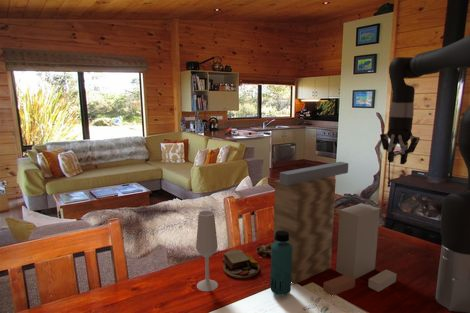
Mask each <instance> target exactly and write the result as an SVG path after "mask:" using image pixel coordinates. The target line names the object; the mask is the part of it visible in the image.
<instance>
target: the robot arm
mask: <svg viewBox="0 0 470 313" xmlns="http://www.w3.org/2000/svg"><path fill="white" fill-rule="evenodd" d="M449 68H467V69H468V68H470V34H469V35H467V36H465V37H463V38H461V39H459V40H457V41H454V42H453V43H449V44H448V45H446V46H443V47H441V48H436V49H432V50H429V51H424V52H421V53H418V54H416V55H415V56H412V57H411V56H410V57H409V56H408V57H407V56H405V57H404V56H403V57H402V56H397V57H394V58H393V59H392V60H391V62H390V63H389V66H388V75H389V79H390V85H391V90H392V94H391V103H390V108H389V109H390V110H389V116H388V117H389V118H388V131H387V132H386V133H381V134H379V137H380V141H381V145H382V148H383V150H384V151H386V152H387V161H388V163H394V160H395V149H396V147H397V146H398V145H399V148H400V149H401V154H400V160H399V164H400V165H406V163H407V161H408V156H409V155H408V154H412V153H414V152H415V150H416V148H417V146H418V144H419V141H420V140H421V138H420V136H414V135H413V133H412V129H413V120H414V115H415V114H414V111H415V109H414V101H415V94H416V92H415V91H416V90H415V87H414V86H413V85H410V84H406V82H405V79H417V78H420V77H422V76H427V75H433V74H437V73H440V72H443V71H445V70H446V69H449ZM409 141H410V143H408V142H409ZM457 146H458V150H459V153H460V155H461V158H462V159H463V162H464V164H465V167H466V168H467V169H466V170H467V184H466V189H465V191H462V192H454V193H453V192H452V193H449V194H447V195H446V196H445V198H444V199H443V202H442V204H441V211H440V212H441V213H440V230H439V231H440V236H441V238H442V239H441V246H440V248H441V249H440V256H439V257H440V258H439V263H438V272H437V280H436V282H437V283H436V290H435V297H434V298H435V300H436V302H437V303H438V304H440V305H441V306H443V307H444V308H446V309H447V310H448V311H450V312H456V313H457V312H458V313H470V104H469V105H468V107H467V108H466V109H465V111H464V113H463V115H462V116H461V119H460V122H459V130H458V136H457Z"/></svg>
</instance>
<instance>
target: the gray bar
mask: <svg viewBox="0 0 470 313" xmlns="http://www.w3.org/2000/svg"><path fill="white" fill-rule="evenodd" d="M348 173H349V163H348V162H343V161H337V162H332V163H331V162H330V163H325V164H321V165H315V166H314V165H313V166H310V167H309V166H308V167H303V168H302V167H301V168H299V169H297V168H296V169H292V170H287V171H286V170H285V171H281V172H279V180H280V184H283V185H287V186H288V185H293V184H298V183H302V182H307V181H312V180H317V179H321V178H326V177H330V178H332V177H335V176H340V175H343V174H344V175H345V174H348Z"/></svg>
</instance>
